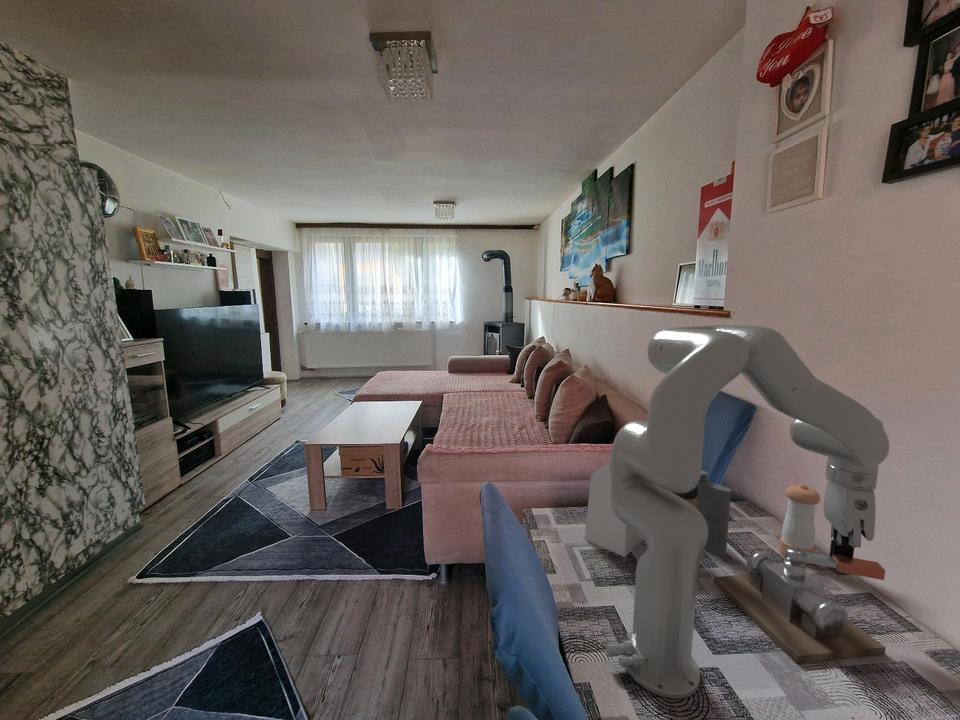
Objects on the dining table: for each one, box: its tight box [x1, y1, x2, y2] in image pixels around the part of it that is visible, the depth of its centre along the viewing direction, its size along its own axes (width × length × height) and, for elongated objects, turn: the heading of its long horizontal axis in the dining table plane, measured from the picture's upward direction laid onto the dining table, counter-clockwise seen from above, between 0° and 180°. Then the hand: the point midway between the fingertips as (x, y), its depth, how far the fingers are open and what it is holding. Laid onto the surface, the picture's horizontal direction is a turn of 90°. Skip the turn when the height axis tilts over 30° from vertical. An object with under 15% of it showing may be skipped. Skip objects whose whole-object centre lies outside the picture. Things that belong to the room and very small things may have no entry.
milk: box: [584, 449, 644, 558], centre depth 112 cm, size 12×12×26 cm
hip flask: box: [697, 469, 732, 557], centre depth 112 cm, size 16×4×20 cm, turn 28°
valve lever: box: [785, 547, 886, 581], centre depth 82 cm, size 15×3×2 cm, turn 68°
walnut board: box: [713, 573, 886, 664], centre depth 85 cm, size 18×22×2 cm
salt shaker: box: [778, 483, 821, 564], centre depth 105 cm, size 7×7×19 cm
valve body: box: [746, 549, 849, 640], centre depth 85 cm, size 7×18×10 cm, turn 7°
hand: (840, 561), depth 84 cm, fingers closed
